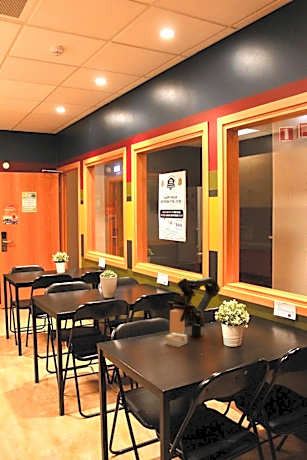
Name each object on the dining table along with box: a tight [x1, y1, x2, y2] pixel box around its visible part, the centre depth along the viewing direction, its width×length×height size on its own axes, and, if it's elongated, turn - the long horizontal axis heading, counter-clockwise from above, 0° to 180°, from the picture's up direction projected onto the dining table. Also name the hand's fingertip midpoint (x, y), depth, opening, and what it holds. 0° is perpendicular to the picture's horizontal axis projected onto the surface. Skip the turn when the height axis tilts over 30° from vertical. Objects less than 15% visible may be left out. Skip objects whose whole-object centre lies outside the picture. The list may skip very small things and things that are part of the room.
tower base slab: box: [165, 339, 188, 348], centre depth 240 cm, size 9×9×2 cm
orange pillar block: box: [169, 309, 186, 334], centre depth 238 cm, size 6×6×12 cm
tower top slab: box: [165, 332, 188, 343], centre depth 239 cm, size 9×9×2 cm
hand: (175, 320), depth 237 cm, fingers closed on orange pillar block, 6 cm apart
